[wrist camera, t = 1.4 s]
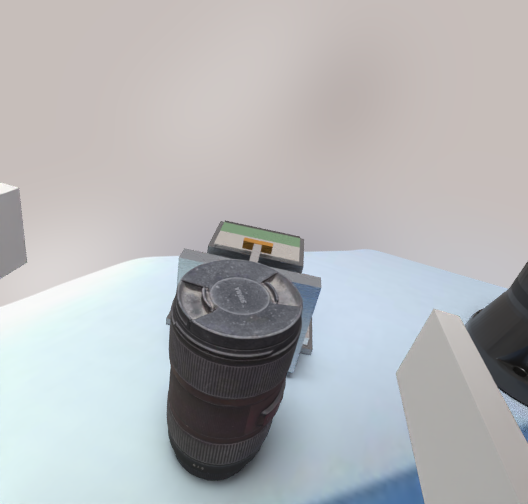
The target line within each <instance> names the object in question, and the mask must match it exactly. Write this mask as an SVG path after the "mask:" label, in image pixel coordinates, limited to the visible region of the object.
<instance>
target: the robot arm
mask: <svg viewBox="0 0 528 504" xmlns="http://www.w3.org/2000/svg"><path fill="white" fill-rule="evenodd" d="M20 202H21V201H20V193H19V188H18V187H14V186H11V185H7V184H4V183H1V182H0V279H1V278H3V277H4V276H6V275H8V274H9V273H11V272H12V271H14V270H16V269H17V268H19V267H21V266H22V265H24V264H25V263H27V257H26V248H25V239H24V229H23V221H22V211H21V203H20ZM396 376H397V381H398V385H399V390H400V394H401V399H402V403H403V408H404V412H405V417H406V421H407V426H408V430H409V435H410V440H411V444H412V449H413V453H414V458H415V462H416V467H417V471H418V476H419V480H420V485H421V489H422V494H423V498H424V503H425V504H528V443H527V441H526V439H525V437H524V436H523V434H522V432H521V430H520V428H519V426H518V424H517V423H516V421H515V419H514V417H513V415H512V413H511V411H510V410H509V408H508V406H507V404H506V402H505V400H504V398H503V397H502V395H501V393H500V391H499V389H498V387H500V388H501V389H502V390H504V391H505V392H506V393H508V394H509V395H511V396H512V397H514V398H516V399H517V400H519V401H521V402H522V403H524V404H526V405H528V262H527V263H526V265H525V266H524V268H523V269H522V271H521V272H520V273H519V275H518V277H517V278H516V279H515V281H514V283H513V284H512V285H511V287H510V288H509V289H508V290H507V291H506V292H504V293H503V294H502V295H500V296H499V297H498V298H497V299H495V300H494V301H493V302H491V303H490V304H489V305H488V306H486V307H485V308H484V309H481V310H479V311H477V312H476V313H474V314H473V315H472V316H471V317H470V319H469V321H468V322H467V324H466V325H465V326H464V324H463V322H462V320H461V318H460V317H459V316H457V315H453V314H450V313H447V312H443V311H440V310H436V309H433V311H432V313H431V314H430V316H429V318H428V319H427V321H426V323H425V324H424V326H423V328H422V330H421V331H420V333H419V335H418V336H417V338H416V340H415V342H414V343H413V345H412V347H411V348H410V350H409V352H408V353H407V355H406V357H405V359H404V360H403V362H402V364H401V365H400V367H399V369H398V370H397V372H396ZM497 386H498V387H497Z"/></svg>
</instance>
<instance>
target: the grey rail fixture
mask: <svg viewBox="0 0 528 504" xmlns="http://www.w3.org/2000/svg"><path fill="white" fill-rule="evenodd" d="M242 248H244V249H248V250H252V253H251V256H250V260H249V261H253V262H257V263H258V260H259V256H260V252H262V253H267V254H271V253H272V248H273V243H269V242H264V241H259V240H255V239H250V238H244V241H243V246H242ZM223 259H231V258H226V257H222V256H217V255H212V254H208V253H204V252H199V251H194V250H189V249H184V250H183V252H182V253H181V255H180V256H179V263H178V278H177V286H178V284H179V282H180V280H181V279H182V277H183V276H184V275H185V274H186V273H187V272H188V271H190V270H191V269H193V268H194V267H196V266H198V265H201V264H203V263H206V262H210V261H215V260H223ZM271 268H273V267H271ZM273 269H275V270H277V271H278V272H279V273H281V274H283V275H284V276H286V277H287V278H288V279H290V280H291V282H292V283H293V284H294V285H295V286H296V288H297V289H298V291H299V293H300V295H301V297H302V300H303V310H302V315H301V317H302V329H301V333H300V336H299V340H298V343H297V346H296V350H295V353H294V356H293V359H292V362H291V365H290V368H289V370H288V372H291V373H293V372H294V369H295V366H296V362H297V359H298V356H299V353H300V350H301V347H302V344H305V345H307V343H308V340H309V323H310V320H311V317H312V314H313V311H314V308H315V305H316V302H317V299H318V296H319V293H320V290H321V278H320V277H315V276H310V275H307V274H301V273H296V272H292V271H287V270H282V269H278V268H273Z"/></svg>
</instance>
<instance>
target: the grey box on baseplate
mask: <svg viewBox="0 0 528 504" xmlns="http://www.w3.org/2000/svg"><path fill="white" fill-rule="evenodd" d="M244 238H250V239H255V240H259V241H264V242H269V243H273V248H272V253H271V254H267V253H262V252H260V256H259V260H258V263H260V264H263V265H266V266H268V267H273V268H278V269H282V270H287V271H292V272H296V273H302V269H303V258H304V239H301V238H300V237H299V236H294V235H290V234H285V233H280V232H276V231H271V230H266V229H261V228H257V227H252V226H247V225H243V224H238V223H233V222H229V221H225V222H222V221H221V222H220V224H219V226H218V228H217V230H216V232H215V233H214V235H213V237H212V239H211V241H210V243H209V245H208V252H207V253H208V254H212V255H217V256H222V257H226V258H231V259H239V260H246V261H249V260H250V256H251V253H252V250H248V249H244V248H242V246H243V241H244ZM170 317H171V311H170V313H169V315H168V316H167V318H166V324H169V325H170ZM311 352H312V317H311V320H310V323H309V340H308V343H307V345H305V344H302V347H301V350H300V353H303V354H308V355H311Z"/></svg>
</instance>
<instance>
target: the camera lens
mask: <svg viewBox="0 0 528 504" xmlns="http://www.w3.org/2000/svg"><path fill="white" fill-rule="evenodd" d="M302 310H303V300H302V297H301V295H300V293H299V291H298V289H297V288H296V286H295V285H294V284H293V283H292V282H291V280H290V279H288V278H287V277H286V276H284V275H283V274H281V273H279V272H278V271H277V270H275V269H273V268H271V267H268V266H266V265H263V264H260V263H257V262H253V261H246V260H239V259H223V260H215V261H210V262H206V263H203V264H201V265H198V266H196V267H194V268H193V269H191V270H190V271H188V272H187V273H186V274H185V275H184V276H183V277H182V279H181V280H180V282H179V284H178V286H177V292H176V296H175V298H174V300H173V303H172V306H171V317H170V336H169V358H170V364H171V369H170V383H169V392H168V400H167V424H168V433H169V439H170V442H171V445H172V447H173V449H174V452H175V454H176V457H177V459H178V460H179V462H180V464H181V465H182V466H183V467H184V468H185V469H186V470H187V471H188V472H189V473H191V474H193V475H195V476H197V477H199V478H203V479H206V480H221V479H225V478H228V477H231V476H233V475H235V474H236V473H238V472H239V471H240V470H242V469H243V468H244V467H245V466H246V464H248V463H249V462H250V461H251V460H252V459H253V458H254V457H255V455H256V454H257V452H258V451H259V449H260V447H261V445H262V443H263V441H264V440H265V438H266V436H267V434H268V432H269V429H270V426H271V423H272V419H273V417H274V416H275V414H276V412H277V410H278V407H279V405H280V403H281V400H282V398H283V393H284V389H285V381H286V374H287V372H288V370H289V368H290V365H291V362H292V359H293V356H294V353H295V350H296V346H297V343H298V340H299V336H300V333H301V329H302V317H301V315H302Z"/></svg>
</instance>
